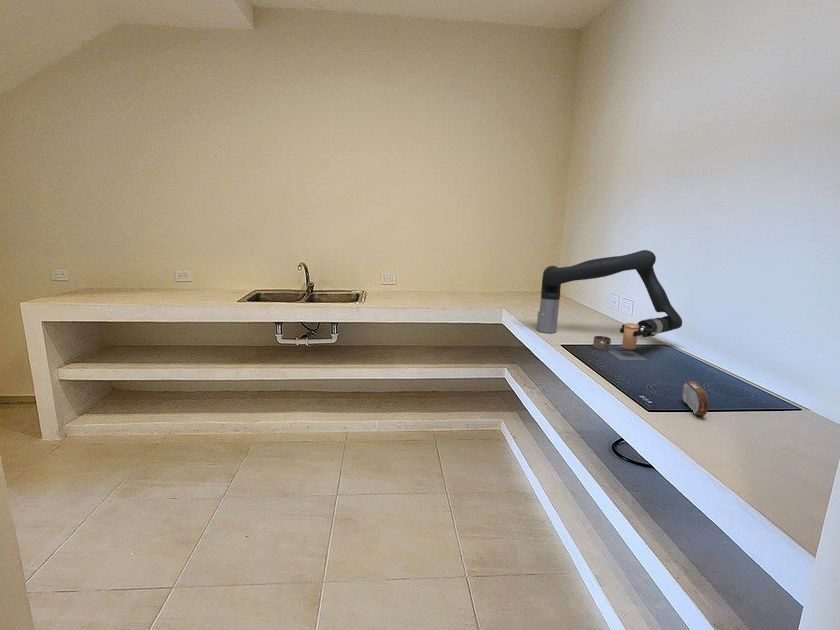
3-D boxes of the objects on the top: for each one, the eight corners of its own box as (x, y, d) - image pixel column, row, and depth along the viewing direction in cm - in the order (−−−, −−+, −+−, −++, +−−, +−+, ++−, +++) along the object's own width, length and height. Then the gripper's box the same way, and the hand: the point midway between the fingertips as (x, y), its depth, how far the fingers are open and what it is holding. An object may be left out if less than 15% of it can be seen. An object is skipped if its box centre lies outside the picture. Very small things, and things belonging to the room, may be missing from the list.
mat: (620, 360, 201) (620, 359, 201) (607, 351, 212) (607, 350, 212) (647, 361, 202) (647, 360, 202) (633, 352, 213) (633, 351, 213)
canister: (596, 350, 214) (598, 340, 213) (590, 345, 221) (591, 335, 220) (612, 350, 214) (613, 340, 213) (605, 345, 221) (606, 336, 220)
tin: (706, 420, 147) (711, 395, 145) (695, 419, 148) (700, 394, 146) (688, 400, 162) (693, 377, 160) (678, 399, 162) (682, 376, 160)
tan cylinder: (625, 349, 203) (628, 326, 201) (619, 345, 209) (622, 323, 206) (638, 349, 203) (641, 326, 201) (631, 345, 209) (634, 323, 207)
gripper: (635, 315, 217) (613, 320, 208) (666, 322, 206) (644, 327, 196) (633, 331, 219) (611, 336, 210) (664, 339, 207) (641, 345, 198)
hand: (627, 332), depth 203 cm, fingers closed on tan cylinder, 5 cm apart
